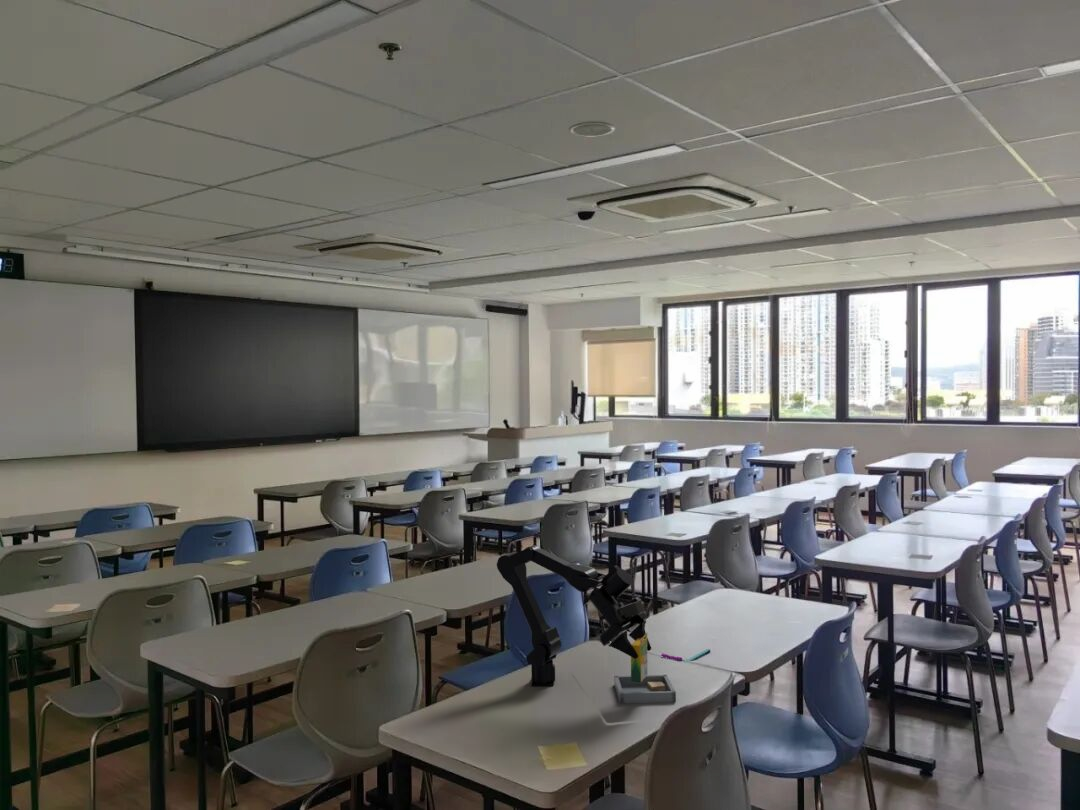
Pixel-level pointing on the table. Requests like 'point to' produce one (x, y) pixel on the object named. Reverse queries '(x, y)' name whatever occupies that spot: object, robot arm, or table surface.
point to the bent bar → (686, 659)
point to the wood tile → (656, 685)
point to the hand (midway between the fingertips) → (643, 653)
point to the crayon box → (639, 660)
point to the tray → (643, 690)
